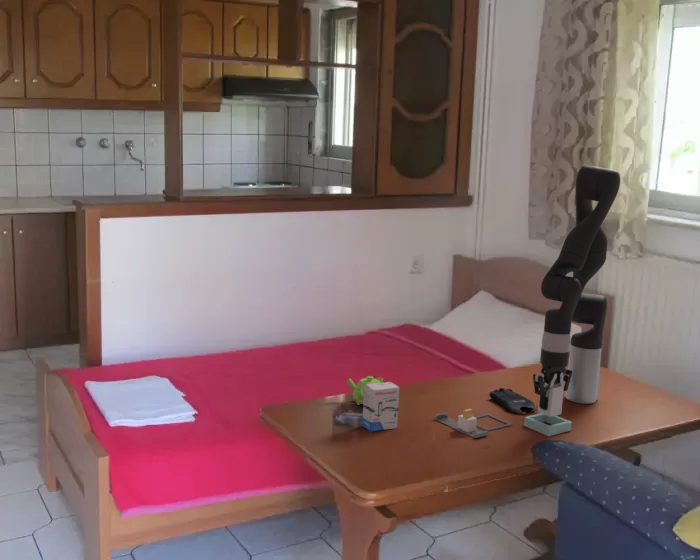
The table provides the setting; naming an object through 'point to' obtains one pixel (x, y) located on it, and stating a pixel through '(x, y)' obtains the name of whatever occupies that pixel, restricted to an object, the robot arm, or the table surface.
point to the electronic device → (511, 400)
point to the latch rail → (454, 424)
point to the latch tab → (467, 421)
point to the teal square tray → (538, 425)
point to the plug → (553, 401)
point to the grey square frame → (494, 427)
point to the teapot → (362, 387)
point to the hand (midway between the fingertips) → (549, 407)
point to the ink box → (380, 406)
